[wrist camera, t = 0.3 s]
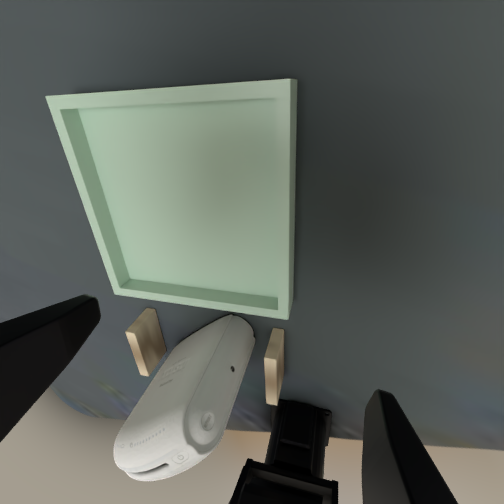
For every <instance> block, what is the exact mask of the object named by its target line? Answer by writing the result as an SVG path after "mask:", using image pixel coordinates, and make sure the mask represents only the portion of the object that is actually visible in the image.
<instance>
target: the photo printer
mask: <svg viewBox="0 0 504 504" xmlns="http://www.w3.org/2000/svg"><path fill="white" fill-rule="evenodd" d="M253 335H254V333H253V329H252V328H251V326H250V325H249V323H248V322H246V321H245V320H244V319H242V318H241V317H238V316H233V315H228V316H225V317H222V318H220V319H218V320H216V321H214V322H213V323H211V324H209V325H207V326H205V327H204V328H202V329H200V330H199V331H197V332H195V333H194V334H192V335H190V336H189V337H187V338H186V339H184V340H183V341H181V342H180V343H179V344H178V345H177V346H176V347H175V348H174V349H173V350H172V352H171V353H170V354H169V356H168V357H167V359H166V361H165V362H164V363H163V365H162V367H161V368H160V370H159V371H158V373H157V374H156V376H155V377H154V379H153V380H152V382H151V383H150V385H149V386H148V388H147V389H146V391H145V392H144V394H143V395H142V397H141V399H140V400H139V402H138V403H137V405H136V406H135V408H134V409H133V411H132V412H131V414H130V415H129V417H128V418H127V420H126V422H125V423H124V425H123V426H122V428H121V429H120V431H119V433H118V435H117V437H116V440H115V443H114V460H115V463H116V465H117V466H118V467H119V468H120V469H122V470H123V471H125V472H126V473H127V475H129V476H130V477H131V478H133V479H135V480H140V481H155V480H161V479H165V478H168V477H171V476H174V475H176V474H179V473H181V472H183V471H185V470H187V469H189V468H191V467H193V466H194V465H196V464H198V463H199V462H201V461H202V460H203V459H204V458H206V457H207V456H208V455H209V454H210V453H211V452H212V451H213V450H214V449H215V448H216V447H217V446H218V444H219V442H220V441H221V439H222V436H223V434H224V431H225V428H226V425H227V422H228V419H229V416H230V413H231V410H232V408H233V405H234V402H235V399H236V396H237V393H238V390H239V387H240V385H241V382H242V379H243V376H244V373H245V370H246V367H247V364H248V362H249V359H250V356H251V353H252V350H253V348H254V345H255V338H254V337H253Z"/></svg>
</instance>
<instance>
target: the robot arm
mask: <svg viewBox="0 0 504 504" xmlns="http://www.w3.org/2000/svg"><path fill="white" fill-rule="evenodd" d="M100 318H101V313H100V308H99V302H98V299H97V298H96V297H93V296H90V295H87V294H84V295H81V296H78V297H75V298H72V299H69V300H66V301H63V302H60V303H57V304H54V305H51V306H49V307H46V308H43V309H40V310H37V311H34V312H31V313H28V314H25V315H22V316H19V317H17V318H14V319H11V320H8V321H5V322H2V323H0V442H1V441H2V440H3V439H4V438H5V436H6V435H7V434H8V433H9V432H10V431H11V430H12V428H13V427H14V426H15V425H16V424H17V423H18V421H19V420H20V419H21V418H22V417H23V416H24V415H25V413H26V412H27V411H28V410H29V409H30V408H31V406H32V405H33V404H34V403H35V402H36V401H37V400H38V399H39V397H40V396H41V395H42V394H43V393H44V392H45V390H46V389H47V388H48V387H49V386H50V385H51V384H52V382H53V381H54V380H55V379H56V378H57V377H58V376H59V374H60V373H61V372H62V371H63V370H64V369H65V367H66V366H67V365H68V364H69V363H70V361H71V360H72V359H73V357H74V356H75V355H76V353H77V352H78V351H79V349H80V348H81V346H82V345H83V344H84V342H85V341H86V340H87V338H88V337H89V335H90V334H91V333H92V331H93V330H94V328H95V327H96V326H97V324H98V323H99V321H100ZM326 413H329V414H326ZM331 419H332V412H331V411H330V410H327V409H323V408H318V407H314V406H309V405H305V404H300V403H296V402H291V401H287V400H282V399H278V404H277V406H276V405H271V425H272V431H271V435H270V440H269V445H268V449H267V454H266V459H265V463H260V462H256V461H253V459H249V458H248V459H247V461H246V464H245V466H243V469H242V471H241V474H240V477H239V479H238V482H237V485H236V488H235V490H234V493H233V496H232V498H231V500H230V502H229V504H338V481H334V480H332V481H329V480H326V479H323V475H324V457H325V446H328V441H329V434H330V426H331ZM362 494H363V504H458V503H457V501H456V499H455V498H454V496H453V494H452V493H451V491H450V489H449V487H448V486H447V484H446V482H445V481H444V479H443V477H442V476H441V474H440V472H439V471H438V469H437V467H436V466H435V464H434V462H433V461H432V459H431V457H430V456H429V454H428V452H427V451H426V449H425V447H424V446H423V444H422V442H421V440H420V439H419V437H418V435H417V434H416V432H415V430H414V429H413V427H412V425H411V424H410V422H409V420H408V419H407V417H406V415H405V414H404V412H403V410H402V409H401V407H400V405H399V404H398V402H397V400H396V398H395V397H394V396H393V395H392V394H391V393H389V392H386V391H383V390H380V389H377V390H376V391H375V392H374V394H373V395H372V397H371V399H370V400H369V402H368V404H367V406H366V409H365V418H364V436H363V454H362Z"/></svg>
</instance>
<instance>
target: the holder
mask: <svg viewBox="0 0 504 504" xmlns="http://www.w3.org/2000/svg"><path fill="white" fill-rule="evenodd" d="M125 332H126V335H127V338H128V341H129V343H130V346H131V349H132V352H133V355H134V357H135V360H136V363H137V366H138V369H139V371H140V374H141V375H145V376H150V374H151V373H152V371H153V370H154V368H155V367H156V365H157V364H158V362H159V361H160V360H161V358H162V357H163V355H164V354H165V352H166V351H167V350H166V347H165V343H164V339H163V336H162V332H161V329H160V325H159V321H158V318H157V314H156V310H155V309H151V308H146V309H145V310H144V311H143V313H142V314H141V315H140V316H139V317H138V318H137V319H136V320H135V321H134V323H133V324H132V325H131V326H130V327H129V328H128V329H127V330H126V331H125ZM264 365H265V386H266V403H267V404H271V405H276V406H277V404H278V399H279V395H280V390H281V385H282V381H283V376H284V329H278V328H273V330H272V333H271V336H270V340H269V343H268V346H267V350H266V353H265V356H264Z"/></svg>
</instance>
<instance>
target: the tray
mask: <svg viewBox="0 0 504 504" xmlns="http://www.w3.org/2000/svg"><path fill="white" fill-rule="evenodd" d="M45 97H46V100H47V102H48V105H49V108H50V111H51V114H52V117H53V120H54V122H55V125H56V128H57V131H58V134H59V137H60V139H61V142H62V145H63V148H64V151H65V154H66V157H67V159H68V162H69V165H70V168H71V171H72V174H73V177H74V179H75V182H76V185H77V188H78V191H79V194H80V197H81V199H82V202H83V205H84V208H85V211H86V214H87V216H88V219H89V222H90V225H91V228H92V231H93V234H94V236H95V239H96V242H97V245H98V248H99V251H100V254H101V256H102V259H103V262H104V265H105V268H106V271H107V274H108V276H109V279H110V282H111V285H112V288H113V291H114V293H115V294H117V295H123V296H130V297H137V298H144V299H150V300H157V301H164V302H171V303H177V304H184V305H191V306H198V307H204V308H211V309H218V310H225V311H231V312H238V313H245V314H252V315H258V316H265V317H272V318H279V319H285V320H288V319H289V315H290V311H291V307H292V303H293V288H294V234H295V180H296V125H297V80H296V79H279V80H265V81H251V82H237V83H223V84H209V85H195V86H181V87H168V88H154V89H140V90H126V91H112V92H98V93H84V94H70V95H56V96H45Z"/></svg>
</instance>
